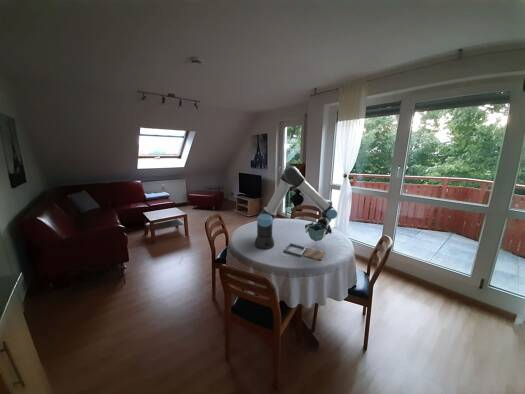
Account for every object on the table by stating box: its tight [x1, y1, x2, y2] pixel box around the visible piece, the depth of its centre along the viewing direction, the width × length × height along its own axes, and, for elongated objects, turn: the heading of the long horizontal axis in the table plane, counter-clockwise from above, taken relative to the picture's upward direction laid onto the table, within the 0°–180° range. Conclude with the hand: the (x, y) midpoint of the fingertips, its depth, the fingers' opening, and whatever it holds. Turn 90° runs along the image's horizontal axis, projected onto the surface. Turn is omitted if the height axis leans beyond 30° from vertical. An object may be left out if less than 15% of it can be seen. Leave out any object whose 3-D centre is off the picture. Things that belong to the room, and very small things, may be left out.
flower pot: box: [307, 225, 326, 242], centre depth 145 cm, size 9×9×9 cm
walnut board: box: [303, 247, 326, 262], centre depth 149 cm, size 12×12×1 cm
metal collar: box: [283, 242, 308, 258], centre depth 154 cm, size 13×13×2 cm
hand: (314, 233), depth 141 cm, fingers closed on flower pot, 11 cm apart
